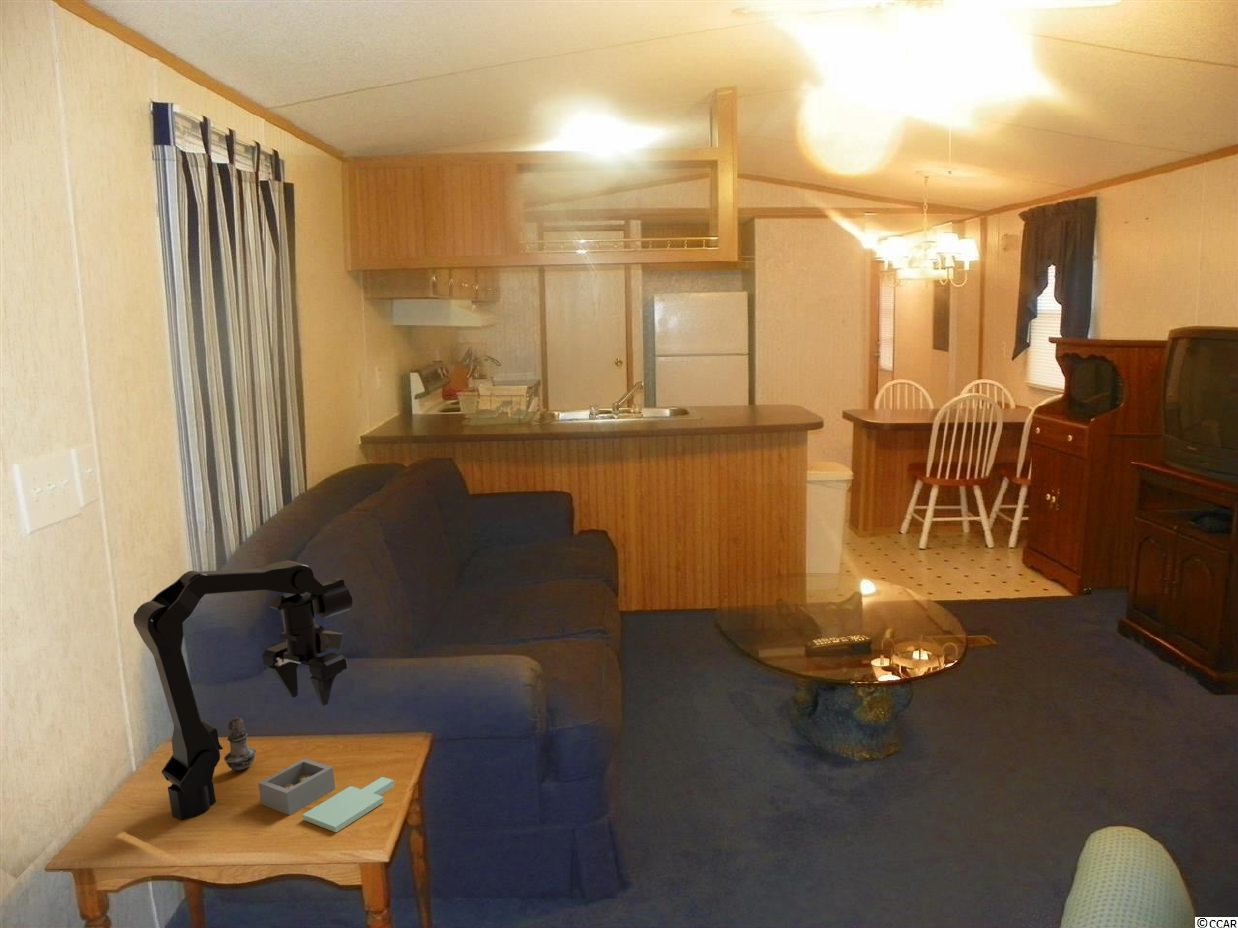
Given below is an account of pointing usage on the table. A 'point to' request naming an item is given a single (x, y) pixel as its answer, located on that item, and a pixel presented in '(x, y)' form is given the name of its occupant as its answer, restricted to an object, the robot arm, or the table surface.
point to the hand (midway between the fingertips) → (309, 700)
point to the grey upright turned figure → (238, 747)
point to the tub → (296, 786)
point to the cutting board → (348, 805)
